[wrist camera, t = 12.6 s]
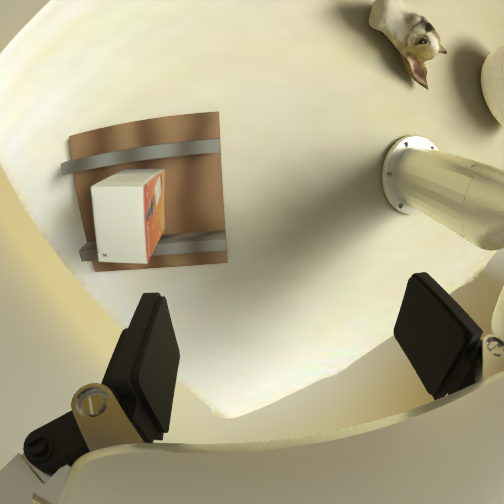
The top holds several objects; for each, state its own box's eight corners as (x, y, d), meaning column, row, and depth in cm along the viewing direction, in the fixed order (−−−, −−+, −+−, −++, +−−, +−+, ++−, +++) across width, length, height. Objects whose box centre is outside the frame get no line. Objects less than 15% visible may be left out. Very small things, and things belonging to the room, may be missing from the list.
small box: (165, 228, 36) (148, 266, 26) (126, 227, 35) (97, 264, 25) (166, 167, 32) (144, 185, 23) (123, 167, 31) (89, 186, 22)
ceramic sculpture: (405, -28, 16) (473, 49, 21) (372, -12, 23) (436, 51, 29) (376, 10, 19) (453, 94, 25) (343, 25, 27) (414, 91, 32)
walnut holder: (218, 112, 31) (218, 110, 27) (227, 258, 40) (228, 273, 36) (73, 135, 29) (58, 138, 26) (98, 268, 38) (88, 282, 34)
